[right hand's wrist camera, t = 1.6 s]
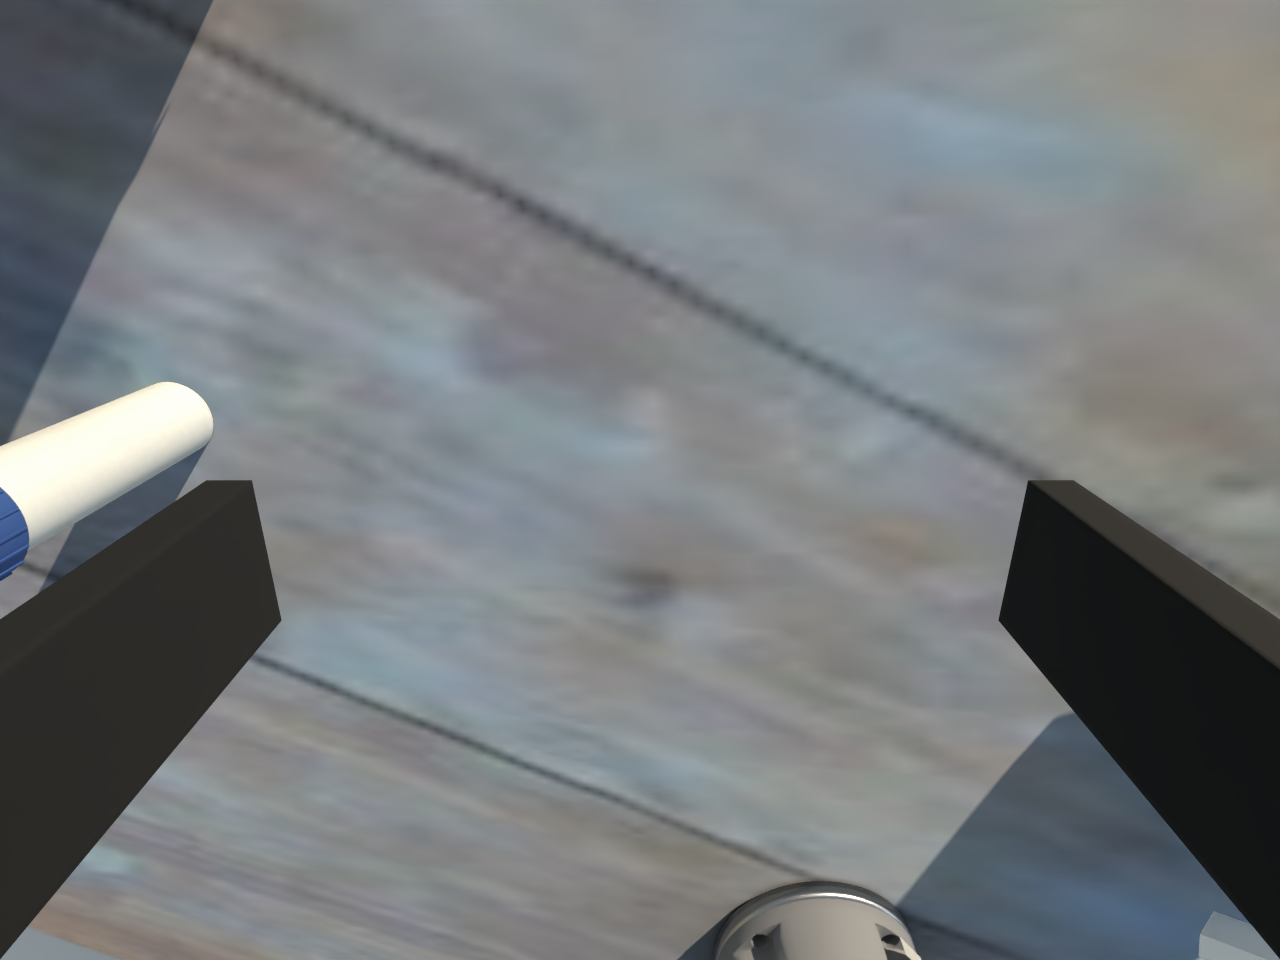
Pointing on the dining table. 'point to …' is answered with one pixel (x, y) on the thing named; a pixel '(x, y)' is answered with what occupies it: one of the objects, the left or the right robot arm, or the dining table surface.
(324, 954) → the dining table surface
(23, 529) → the lid
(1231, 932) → the white plastic object
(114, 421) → the jar
